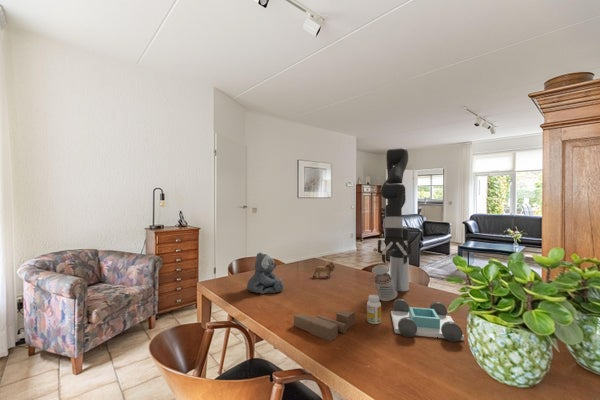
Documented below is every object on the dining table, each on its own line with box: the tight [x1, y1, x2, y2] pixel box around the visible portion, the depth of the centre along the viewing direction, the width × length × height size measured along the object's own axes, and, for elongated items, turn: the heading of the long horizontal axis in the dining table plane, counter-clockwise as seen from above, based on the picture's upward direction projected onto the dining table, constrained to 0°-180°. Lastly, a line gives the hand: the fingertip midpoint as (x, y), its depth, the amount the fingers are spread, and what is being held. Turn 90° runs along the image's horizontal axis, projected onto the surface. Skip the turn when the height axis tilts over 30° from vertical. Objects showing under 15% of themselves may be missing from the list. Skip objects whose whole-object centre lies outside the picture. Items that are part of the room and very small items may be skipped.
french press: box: [367, 247, 398, 302], centre depth 127 cm, size 10×12×25 cm
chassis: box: [390, 298, 465, 343], centre depth 101 cm, size 20×22×6 cm
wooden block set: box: [293, 310, 356, 342], centre depth 102 cm, size 17×6×18 cm
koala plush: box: [246, 252, 284, 295], centre depth 143 cm, size 17×18×20 cm
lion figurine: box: [312, 261, 336, 279], centre depth 166 cm, size 15×5×9 cm, turn 103°
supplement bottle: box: [366, 294, 382, 325], centre depth 105 cm, size 5×5×10 cm
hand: (394, 263), depth 120 cm, fingers open, 8 cm apart
